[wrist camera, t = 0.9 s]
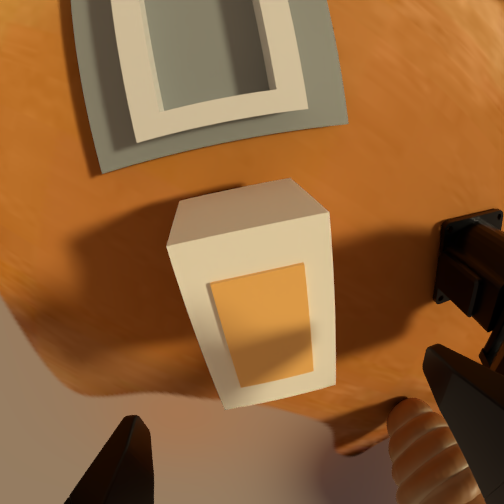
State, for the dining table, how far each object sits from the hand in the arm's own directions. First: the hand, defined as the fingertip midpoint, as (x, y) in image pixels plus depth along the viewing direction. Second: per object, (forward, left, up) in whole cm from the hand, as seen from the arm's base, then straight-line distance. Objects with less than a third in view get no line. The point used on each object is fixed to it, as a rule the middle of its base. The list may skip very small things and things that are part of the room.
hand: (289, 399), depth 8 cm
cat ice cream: (-12, +20, -10) cm, 25 cm away
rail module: (0, 0, -10) cm, 10 cm away
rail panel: (0, -16, -10) cm, 19 cm away
